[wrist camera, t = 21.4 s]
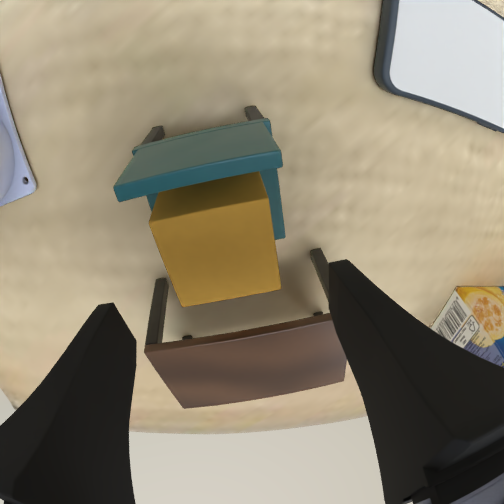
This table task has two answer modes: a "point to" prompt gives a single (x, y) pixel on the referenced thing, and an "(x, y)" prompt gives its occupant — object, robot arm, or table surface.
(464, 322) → the beverage box
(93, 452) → the robot arm
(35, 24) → the table surface
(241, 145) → the chair
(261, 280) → the mustard yellow block
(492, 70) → the phone case
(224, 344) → the side table
